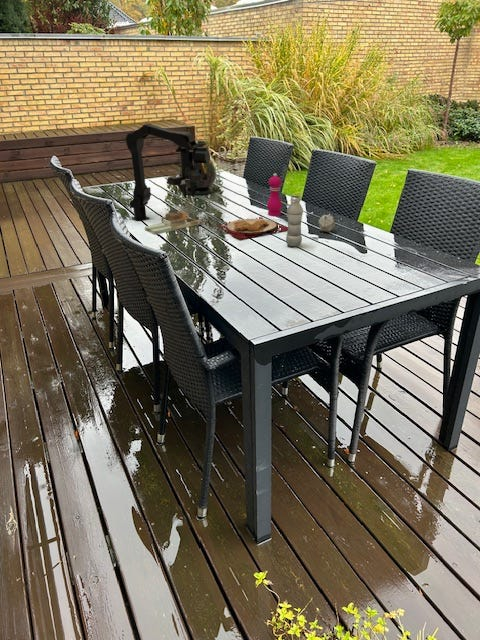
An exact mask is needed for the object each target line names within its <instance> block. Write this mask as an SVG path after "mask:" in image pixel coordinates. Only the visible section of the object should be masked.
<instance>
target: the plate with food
mask: <svg viewBox="0 0 480 640" xmlns="http://www.w3.org/2000/svg"><path fill="white" fill-rule="evenodd" d="M258 218H259V219H258ZM258 218H257V217H256V218H243V219H242V218H241V219H240V218H239V219H236V220H233V221H228V222H227V223H226V224H225V225H220V226H218V227H217V228H218V229H223V230H224V229H225V230H226V231H225V230H224V233H225V234H226V235H230V236H231V237H233V238H236V239H238V240H242V239H244V240H245V239H246V238H247V239H248V238H249V239H252V238H253V239H254V238H255V237H258V236H265V235H266V234H265V233H264V232H267V231H270V233H269V235H272V234H271V233H273V234H276V233H275V232H277V231H280V232H284V231H288V226H284V225H282V224H281V225H280V224H279V223H277V222H276V221H274V220H272V219H266V218H263V217H262V216H259V217H258ZM278 225H279V228H281V230H280V229H277V228H278ZM276 229H277V230H276ZM275 230H276V231H275ZM274 231H275V232H274Z"/></svg>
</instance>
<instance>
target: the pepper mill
mask: <svg viewBox="0 0 480 640" xmlns="http://www.w3.org/2000/svg"><path fill="white" fill-rule="evenodd" d="M268 185H269V191H270V196H269V199H268V201H267V203H266V204H267V209H268V211H267V215H268V216H269V217H270V216H271V217H278V216H279V217H280V216H281V213H282V211H281V209H282V207H283V203H282V200H281V198H280V191H281V187H280V186H281V185H282V180H281V178H280V177H279V176H278V174H277V173H273V176H272V177H270V178H269V179H268Z"/></svg>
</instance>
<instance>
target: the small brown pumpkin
mask: <svg viewBox="0 0 480 640" xmlns="http://www.w3.org/2000/svg"><path fill="white" fill-rule="evenodd" d="M321 213H322V212H321ZM334 216H335V214H332V215H331V214H330V215H328V214H324V213H322V214H321V217H320V219H319V220H318V221H317V220H316V221H315V222H316V223H317V224H318V227H319V232H320V231H321V232H329V233H330V232H332V230H333V229H334V227H335V226H338V225H337V223H336V221H335V219H334Z"/></svg>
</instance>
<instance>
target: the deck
mask: <svg viewBox="0 0 480 640" xmlns="http://www.w3.org/2000/svg"><path fill="white" fill-rule="evenodd" d="M163 219H166V216H164V217H161V223H156V224H151V225H146V226H144V230H145V231H146V232H149V233H151V234H154V235H159V234H160V235H161V234H163V233H169V232H172V231H173V232H174V231H176V230H181V229H184V228H189V227H193V226H198V225H200V223H201V222H200V220H198V219H194V218H192V217H191V216H188V217H187V216H186V220H187V222H186V223H185V219H179V220H175V221H171V226H169V225H167V224H165V223H163Z"/></svg>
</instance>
